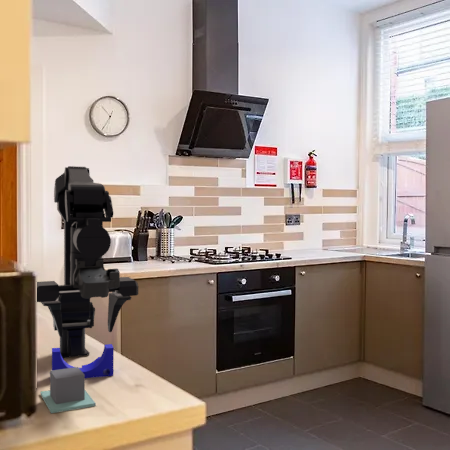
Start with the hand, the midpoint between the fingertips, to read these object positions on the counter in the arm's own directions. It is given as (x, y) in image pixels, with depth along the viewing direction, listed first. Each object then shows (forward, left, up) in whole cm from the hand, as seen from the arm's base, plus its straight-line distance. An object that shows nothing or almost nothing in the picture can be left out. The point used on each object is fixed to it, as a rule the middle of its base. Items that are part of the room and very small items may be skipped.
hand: (85, 334), depth 104 cm
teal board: (+3, -4, -11) cm, 12 cm away
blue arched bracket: (-10, +2, -11) cm, 15 cm away
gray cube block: (+3, -4, -10) cm, 12 cm away
